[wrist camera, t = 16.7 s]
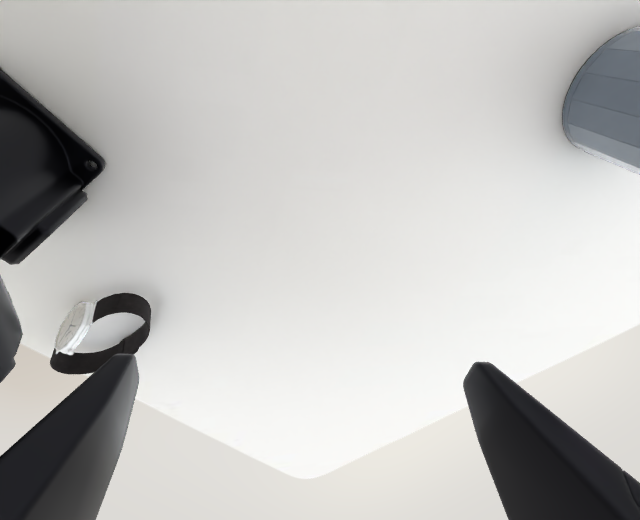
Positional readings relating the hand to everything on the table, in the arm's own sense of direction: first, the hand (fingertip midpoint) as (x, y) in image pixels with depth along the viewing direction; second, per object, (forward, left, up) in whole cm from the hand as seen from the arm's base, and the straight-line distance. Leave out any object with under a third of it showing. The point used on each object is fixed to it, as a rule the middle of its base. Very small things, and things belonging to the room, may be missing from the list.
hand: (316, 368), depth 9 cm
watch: (0, -16, -13) cm, 21 cm away
